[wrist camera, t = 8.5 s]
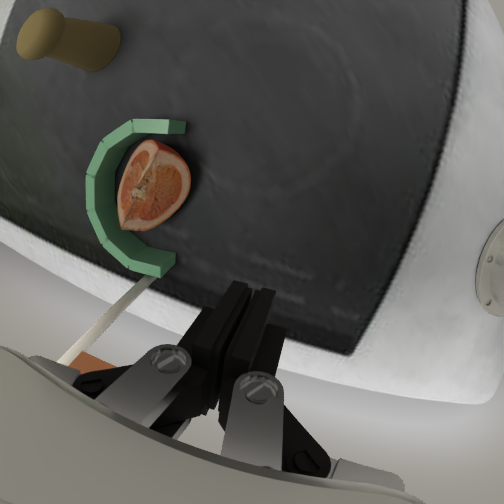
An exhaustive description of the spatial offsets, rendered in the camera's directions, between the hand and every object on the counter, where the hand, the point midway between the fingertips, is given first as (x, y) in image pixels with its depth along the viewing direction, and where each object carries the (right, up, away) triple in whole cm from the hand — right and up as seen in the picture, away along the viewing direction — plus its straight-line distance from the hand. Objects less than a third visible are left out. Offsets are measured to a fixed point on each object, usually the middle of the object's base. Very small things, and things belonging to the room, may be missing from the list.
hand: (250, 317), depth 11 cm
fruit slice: (-9, +10, +15) cm, 20 cm away
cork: (-17, +25, +11) cm, 32 cm away
